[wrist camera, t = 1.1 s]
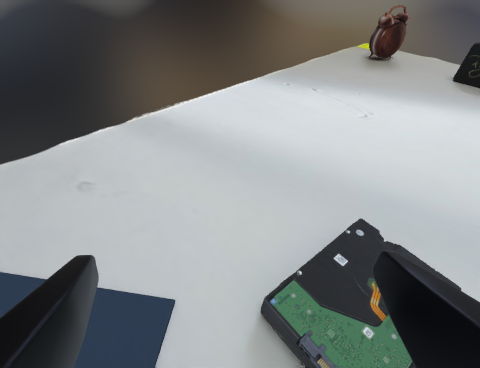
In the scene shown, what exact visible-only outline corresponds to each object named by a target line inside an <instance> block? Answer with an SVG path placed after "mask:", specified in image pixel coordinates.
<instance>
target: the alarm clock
mask: <svg viewBox="0 0 480 368" xmlns="http://www.w3.org/2000/svg"><path fill="white" fill-rule="evenodd" d="M397 7H402V8H404V13H399V14H398V15H396V16H393V15H392V14H390V13H391V11H392V10H393V9H394V8H397ZM407 13H408V12H406V7H404V6H400V5H399V6H395V7H393V8H392V9H391V10H390V12H389V13H385V15H383V16H382V17H381V18H380V19H379V22H378V26H377V28H376V29H375V30H374V32H373V34H372V36H371V39H370V43H369V48H370V51H371V55H370V56H369V58H370V57H371V56H372V55H373V54H374V55H376V56H378V57H377V58H376V59H378V58H379V57H382V58H388V57H390V58H391V56H392V55H393V54H394V53H395V52H396V51H397V50H398V49H399V48H400V46H401V45H402V43H403V41H404V38H405V35H406V25H407V23H408V21H409V17H408V15H407Z"/></svg>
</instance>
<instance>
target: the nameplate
mask: <svg viewBox="0 0 480 368" xmlns="http://www.w3.org/2000/svg"><path fill="white" fill-rule="evenodd" d="M454 81H456V82H459V83H463V84H467V85H471V86H475V87H479V88H480V43H476V44H474V45H473V46H472V48H471V49H470V51H469V53H468V54H467V56H466V58H465V59H464V61H463V63H462V64H461V66H460V68H459V69H458V71H457V73H456V74H455V76H454Z"/></svg>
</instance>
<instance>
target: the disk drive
mask: <svg viewBox="0 0 480 368" xmlns="http://www.w3.org/2000/svg"><path fill="white" fill-rule="evenodd" d="M379 233H380V232H379V230H377V229H376V228H374V227H373V226H372V225H370V224H369V223H367V222H366V221H365V220H363V219H359V220H358V221H356V222H355V223H353V224H352V225H351V226H350V227H348V228H347V230H346V231H344V232H343V233H342V234H341V235H339V236H338V237H337V238H336V239H335V240H334V241H332V242H331V243H330V244H329V245H327V246H326V247H325V248H324V249H323V250H322V251H320V252H319V253H318V254H317V255H315V256H314V257H313V258H312V259H311V260H310V261H308V262H307V263H306V264H305V265H304V266H302V267H301V268H299V270H297V271H296V272H295V273H294V274H293V275H291V276H290V277H288V278H287V279H286V280H284V281H283V282H282V283H281V284H280V285H279V286H278V287H277V288H276V289H275V290H273V291H272V292H271V293H269V295H267V296H266V297H265V299H264V301H263V304H262V308H261V313H262V314H263V315H264V316H265V317H266V319H267V320H268V321H269V322H270V324H271V325H272V327H273V328H274V329H275V330H276V331H277V333H278V334H279V335H280V336H281V338H282V339H283V340H284V341H285V342H286V343H287V345H288V346H289V347H290V348H291V349H292V350H293V352H294V353H295V354H296V355H297V356H298V358H299V359H300V360H301V361H302V363H303V364H304V365H305V366H306V367H307V368H416V367H415V365H414V363H413V362H412V360H411V358H410V356H409V354H408V352H407V350H406V348H405V346H404V344H403V342H402V340H401V338H400V336H399V334H398V332H397V330H396V328H395V327H394V325H393V322H392V320H391V318H390V316H389V314H388V311H387V309H386V307H385V304H384V302H383V299H382V297H381V294H380V292H379V289H378V287H377V284H376V282H375V279H374V277H373V274H372V267H373V265H374V263H375V261H376V259H377V257H378V255H379V253H380V252H381V251H395V252H397V253H399V254H401V255H402V256H404V257H406V258H407V259H409V260H410V261H412V262H414V263H415V264H417V265H419V266H420V267H422V268H424V269H425V270H427V271H429V272H430V273H432V274H434V275H435V276H437V277H439V278H440V279H442V280H444V281H445V282H447V283H449V284H450V285H452V286H454V287H455V288H457V289H458V290H460V291H461V288H460V287H459V286H458V285H456V284H455V283H453V282H452V281H451V280H449V279H448V278H446V277H445V276H443V275H442V274H440V273H439V272H437V271H435V269H433V268H431V267H430V266H429V265H427V264H426V263H424V262H423V261H421V260H420V259H419V258H417V257H416V256H415V255H413V254H412V253H410V252H409V251H408V250H406V249H405V248H403V247H402V246H400V245H397V244H393V243H391V242H388V241H386V242H384V241H383V240H384V238H383V237H382V236H381V235H380V234H379Z"/></svg>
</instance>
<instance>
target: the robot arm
mask: <svg viewBox="0 0 480 368" xmlns="http://www.w3.org/2000/svg"><path fill="white" fill-rule="evenodd" d="M372 274H373V277H374V279H375V282H376V284H377V287H378V289H379V292H380V294H381V297H382V299H383V302H384V304H385V307H386V309H387V311H388V314H389V316H390V318H391V320H392V322H393V325H394V327H395V328H396V330H397V332H398V334H399V336H400V338H401V340H402V342H403V344H404V346H405V348H406V350H407V352H408V354H409V356H410V358H411V360H412V362H413V363H414V365H415V367H416V368H480V302H478V301H477V300H475V299H473V298H472V297H470V296H468V295H467V294H465V293H463V292H462V291H460V290H458V289H457V288H455V287H454V286H452V285H450V284H449V283H447V282H445V281H444V280H442V279H440V278H439V277H437V276H435V275H434V274H432V273H430V272H429V271H427V270H425V269H424V268H422V267H420V266H419V265H417V264H415V263H414V262H412V261H410V260H409V259H407V258H406V257H404V256H402V255H401V254H399V253H397V252H395V251H381V252H380V253H379V255H378V257H377V259H376V261H375V263H374V265H373V267H372ZM98 278H99V277H98V271H97V266H96V262H95V258H94V256H92V255H78V256H76V257H74V258H73V259H72V260H70V261H69V262H68V263H67V264H66V265H64V266H63V267H62V268H61V269H59V270H58V271H57V272H56V273H54V274H53V275H52V276H51V277H50V278H48V279H47V280H46V281H45V282H43V283H42V284H41V285H40V286H38V287H37V288H36V289H35V290H34V291H32V292H31V293H30V294H29V295H27V296H26V297H25V298H24V299H22V300H21V301H20V302H19V303H18V304H16V305H15V306H14V307H13V308H11V309H10V310H9V311H8V312H6V313H5V314H4V315H3V316H2V317H0V368H73V367H74V365H75V362H76V359H77V357H78V354H79V351H80V348H81V346H82V343H83V340H84V336H85V333H86V329H87V325H88V321H89V317H90V313H91V309H92V305H93V301H94V297H95V293H96V289H97V285H98Z"/></svg>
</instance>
